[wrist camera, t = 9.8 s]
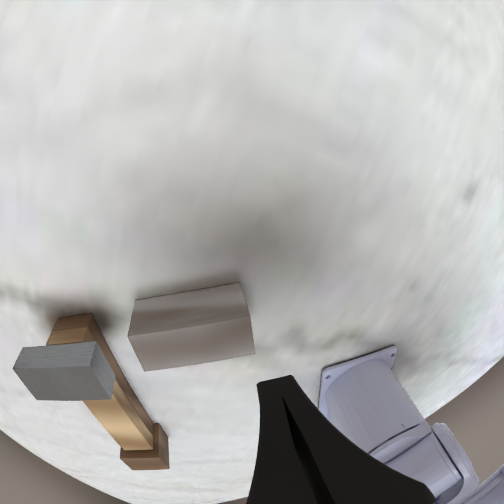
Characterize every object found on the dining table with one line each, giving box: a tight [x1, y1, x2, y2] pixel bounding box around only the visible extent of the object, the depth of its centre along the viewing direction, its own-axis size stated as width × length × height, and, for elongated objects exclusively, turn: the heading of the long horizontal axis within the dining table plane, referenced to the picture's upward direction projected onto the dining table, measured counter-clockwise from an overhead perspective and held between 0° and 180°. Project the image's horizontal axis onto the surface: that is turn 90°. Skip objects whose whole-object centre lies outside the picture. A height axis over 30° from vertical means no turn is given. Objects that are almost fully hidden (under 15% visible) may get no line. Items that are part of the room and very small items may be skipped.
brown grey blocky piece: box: [52, 282, 255, 470], centre depth 21 cm, size 18×14×4 cm
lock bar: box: [13, 341, 116, 401], centre depth 14 cm, size 3×6×2 cm, turn 96°
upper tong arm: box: [46, 327, 153, 450], centre depth 19 cm, size 14×3×2 cm, turn 6°
